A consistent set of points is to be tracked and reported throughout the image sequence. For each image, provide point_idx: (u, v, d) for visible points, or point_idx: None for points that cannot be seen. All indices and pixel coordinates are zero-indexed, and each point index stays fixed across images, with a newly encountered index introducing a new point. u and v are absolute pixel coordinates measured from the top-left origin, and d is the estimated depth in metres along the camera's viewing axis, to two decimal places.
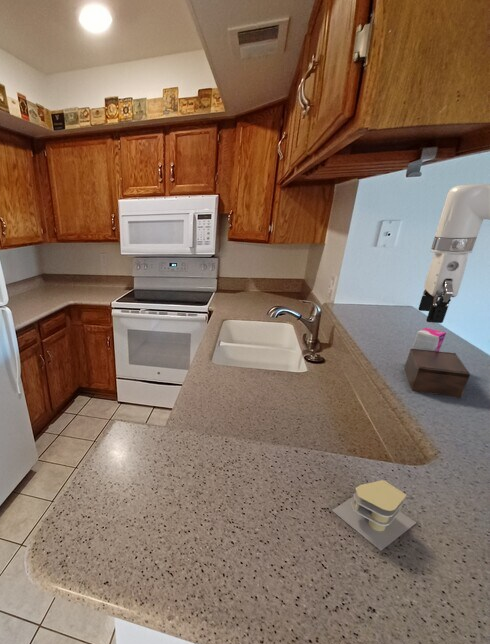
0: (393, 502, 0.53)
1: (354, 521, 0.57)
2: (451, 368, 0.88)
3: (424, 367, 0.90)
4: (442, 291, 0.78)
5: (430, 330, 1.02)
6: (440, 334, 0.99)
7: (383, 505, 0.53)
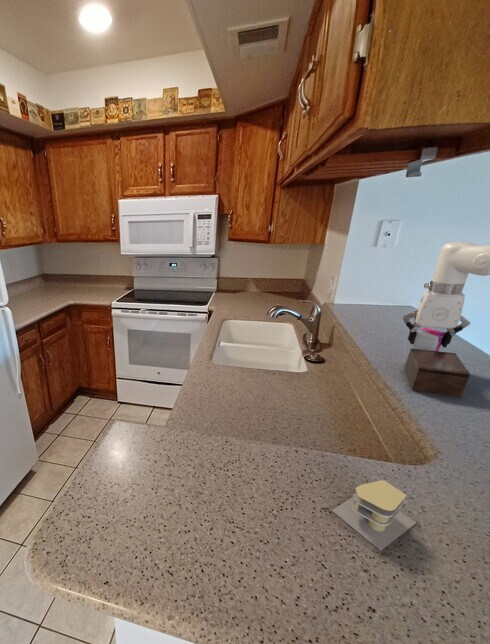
0: (393, 502, 0.53)
1: (354, 521, 0.57)
2: (451, 368, 0.88)
3: (424, 367, 0.90)
4: None
5: (429, 330, 1.02)
6: (439, 334, 0.99)
7: (383, 505, 0.53)
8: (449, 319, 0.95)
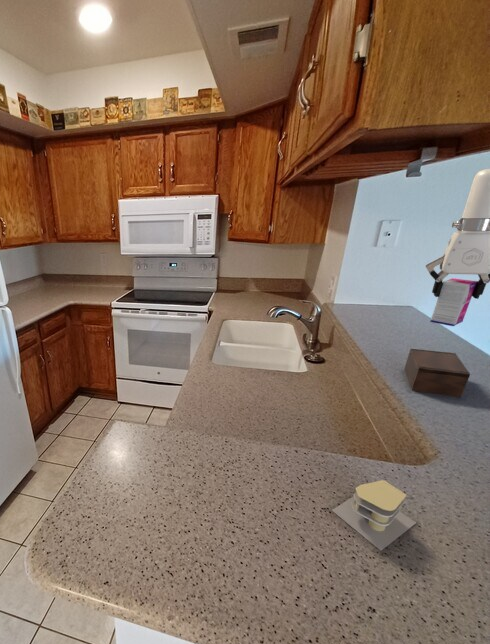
0: (393, 502, 0.53)
1: (354, 521, 0.57)
2: (451, 368, 0.88)
3: (424, 367, 0.90)
4: None
5: (458, 280, 0.88)
6: (470, 282, 0.85)
7: (383, 505, 0.53)
8: (483, 262, 0.81)
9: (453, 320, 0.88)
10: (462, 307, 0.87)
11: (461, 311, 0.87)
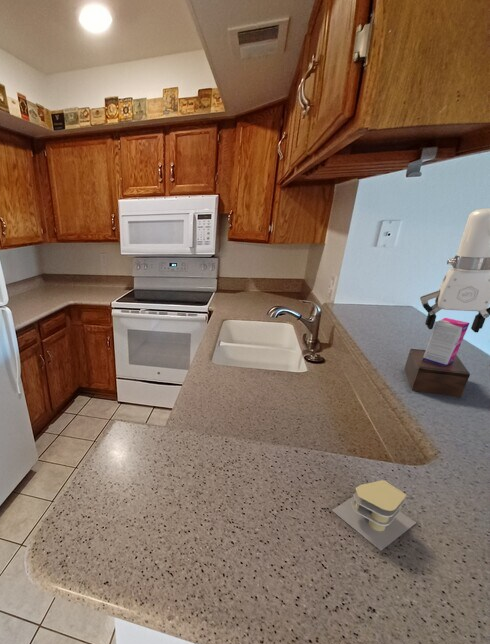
0: (393, 502, 0.53)
1: (354, 521, 0.57)
2: (451, 368, 0.88)
3: (424, 367, 0.90)
4: None
5: (451, 320, 0.88)
6: (463, 324, 0.86)
7: (383, 505, 0.53)
8: (478, 300, 0.81)
9: (445, 360, 0.89)
10: (454, 348, 0.88)
11: (453, 352, 0.88)
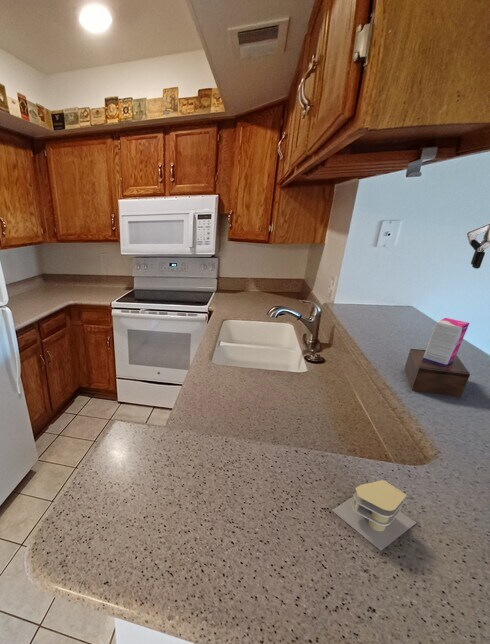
0: (393, 502, 0.53)
1: (354, 521, 0.57)
2: (451, 368, 0.88)
3: (424, 367, 0.90)
4: None
5: (451, 320, 0.88)
6: (463, 324, 0.86)
7: (383, 505, 0.53)
8: None
9: (445, 360, 0.89)
10: (454, 348, 0.88)
11: (453, 352, 0.88)
